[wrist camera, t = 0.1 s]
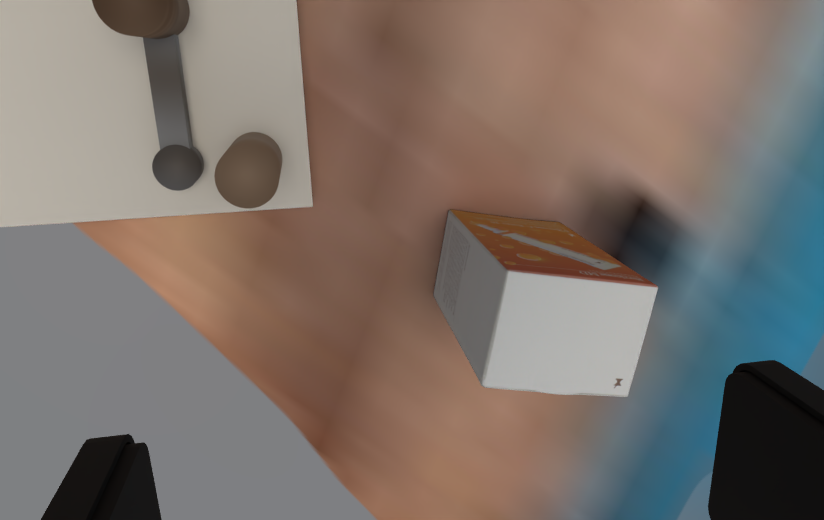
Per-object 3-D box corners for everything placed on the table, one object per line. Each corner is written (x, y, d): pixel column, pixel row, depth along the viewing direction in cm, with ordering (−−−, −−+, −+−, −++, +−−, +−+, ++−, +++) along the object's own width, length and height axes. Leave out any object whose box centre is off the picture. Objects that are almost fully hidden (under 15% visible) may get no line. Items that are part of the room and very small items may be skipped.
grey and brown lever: (212, 183, 35) (195, 207, 30) (156, 186, 35) (128, 211, 29) (185, -24, 32) (160, -41, 26) (123, -23, 32) (84, -40, 26)
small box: (560, 220, 43) (663, 286, 31) (540, 306, 45) (630, 401, 32) (446, 205, 41) (506, 269, 29) (429, 296, 43) (480, 392, 31)
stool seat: (-106, -231, 30) (-255, -336, 22) (278, -219, 33) (271, -308, 25) (2, 217, 37) (-81, 262, 29) (312, 197, 39) (315, 233, 31)
